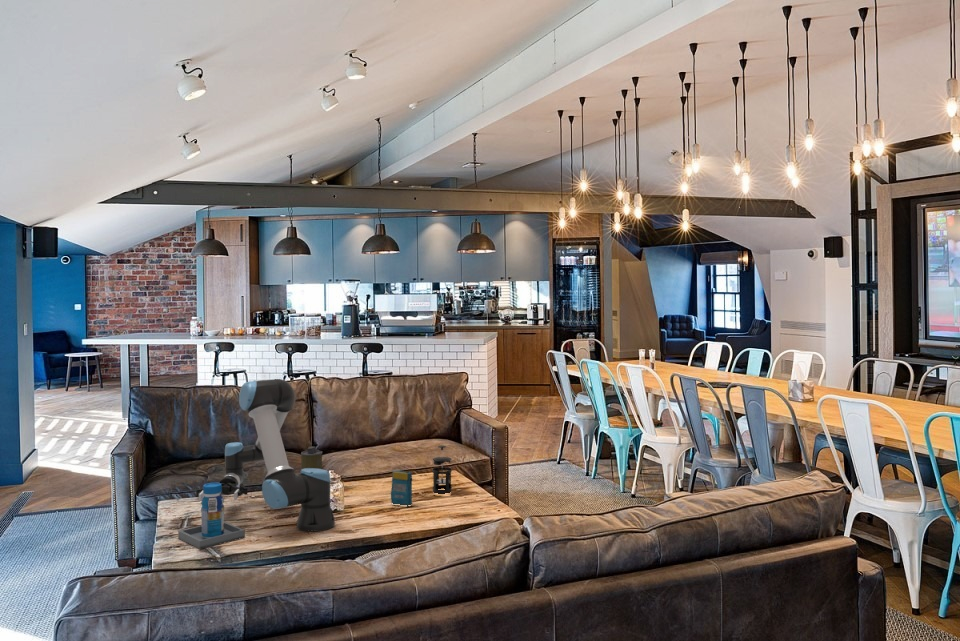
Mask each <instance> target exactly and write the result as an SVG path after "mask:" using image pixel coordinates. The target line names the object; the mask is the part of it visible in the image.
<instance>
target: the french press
mask: <svg viewBox="0 0 960 641" xmlns="http://www.w3.org/2000/svg"><path fill="white" fill-rule="evenodd" d="M437 448H439V449H440V451H443V450H444V449H445V448H447V446H446V445H438V446H437ZM432 461H433V465H435V466H436V467H433V468H432V474H433V477H432V478H433V480H432V481H433V483H432V493H433V492H434V493H438V494H445V493H450V492H451V491H453V487H452V470H453V468H451V467H447V466H443V464H444V463H450V464H451V463H452V462H451V461H452V458H451V457H448V456H436V457H434V458H432ZM438 466H439V467H438ZM440 475H441V478H440ZM443 475H445V478H443ZM441 488H444V489H445V490H438V489H441Z"/></svg>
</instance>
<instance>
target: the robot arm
mask: <svg viewBox="0 0 960 641" xmlns="http://www.w3.org/2000/svg"><path fill="white" fill-rule="evenodd" d="M238 401H239V406H240V409H241V410H242V411H247V413H248V416H249V417H250V418H251V419H253V422H254V426H255V430H256V433H257V439H256V441H255V443H254V444H250V445H243V443H242V442H239V441H238V442H237V441H236V442H229V443H226V445H225V447H224V465H225V467H224V476H223V477H222V478H221V479H220V480H219V482H218V483H221V485H222V491H221V493H220V494H221V495H222V494H223V495H225V496H229V495H232V494H233V500H234V501H236V500H237V499H238V498H239V497H241V496H242V495H245V496H246V495H248V487H246V486H245V484H244V483H243V482H244V480H245V478H246V476H245V475H246V474H245V472H244V464H248V463H255V462H261V461H264V464H265V465H264V466H265V468H266V472H267V473H266V475H265V477H264V481H263V483H262V485H261V488H262V489H261V493H262V497H263V499H264V501H265V503H266V505H268V507H269V508H271V509H274V510H277V509H285V508H288V507H289V508H290V507H293V506H297V505H300V510H299V514H298V517H297V520H296V529H297V530H300V531H302V532H320V531H321V532H322V531H327V530H329V529H332V528H334V527H335V525H336V520H335V516H334V513H333V511H332V508H331V475H330V472H329V471H328V470H327V469H323V468H322V469H316V468H305V469H302V468H301V470H300V471H299V474H296V472H295V471H296V470H295V468H293V467H291V466H290V463H289V460H288V457H287V453H286V450H285V446H284V442H283V438H282V434H281V430H282V429H281V428H282V426H283V424H284V422H285V420H286V418H287V415H288V413H289V412H291V411H292V410H293V408H294V406H295V404H296V392H295V389H294V388H293V386H292V385H291V384H290V383H289V382H288V381H286V380H284V379H282V378H281V379H280V378H274V379H263V380H262V379H261V380H251V381H246V382H245V383H243V384H242V386H241V387H240V391H239V396H238ZM195 491H196V492H195V494H196V497H198V502H202V499H203V497H204V496H205V495H204V494H203V487H201V488H198V489H196V490H195Z"/></svg>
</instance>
